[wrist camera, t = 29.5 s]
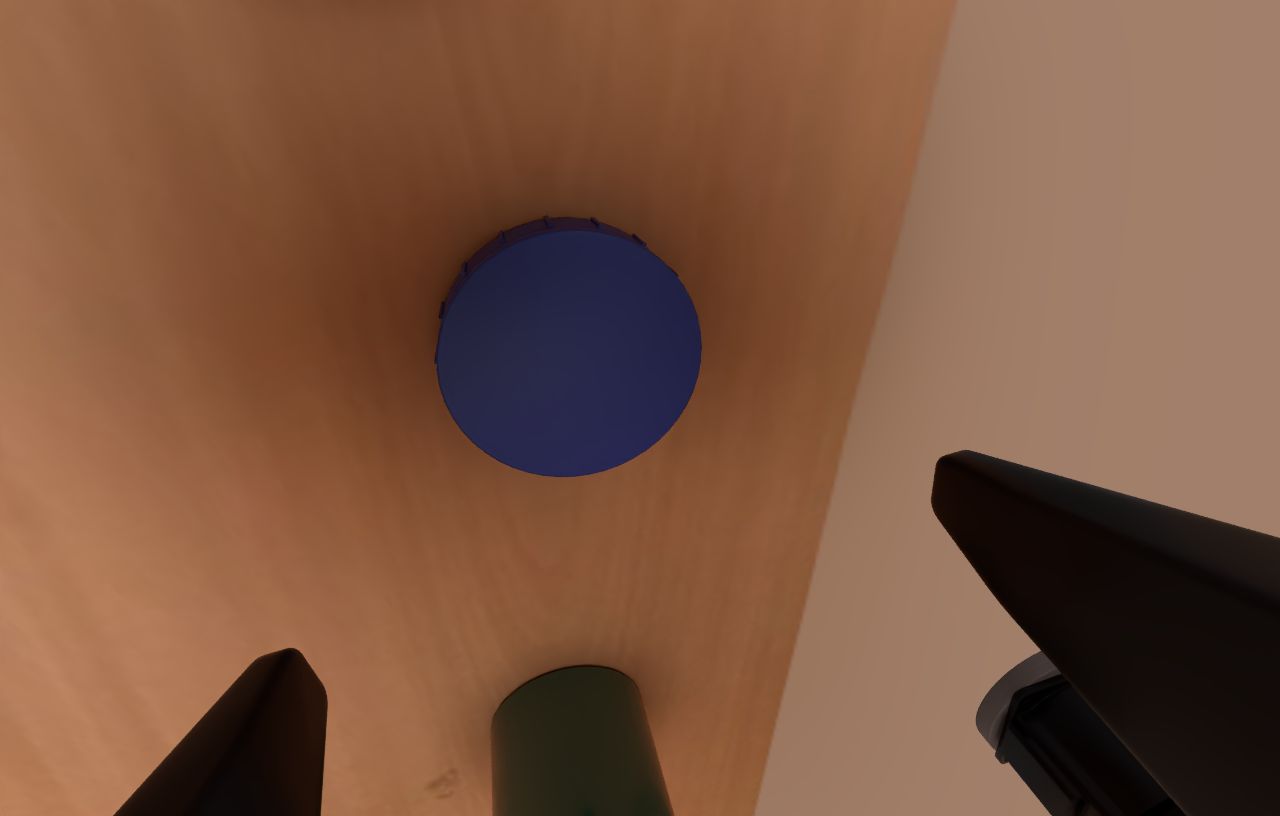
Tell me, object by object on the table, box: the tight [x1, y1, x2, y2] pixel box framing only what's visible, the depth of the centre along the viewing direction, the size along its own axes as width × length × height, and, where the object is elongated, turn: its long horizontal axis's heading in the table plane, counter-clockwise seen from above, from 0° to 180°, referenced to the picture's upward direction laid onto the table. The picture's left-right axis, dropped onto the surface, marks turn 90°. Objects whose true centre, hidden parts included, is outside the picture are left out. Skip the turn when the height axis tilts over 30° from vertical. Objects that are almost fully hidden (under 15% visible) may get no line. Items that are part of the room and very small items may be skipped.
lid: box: [435, 216, 702, 477], centre depth 16 cm, size 7×7×2 cm
